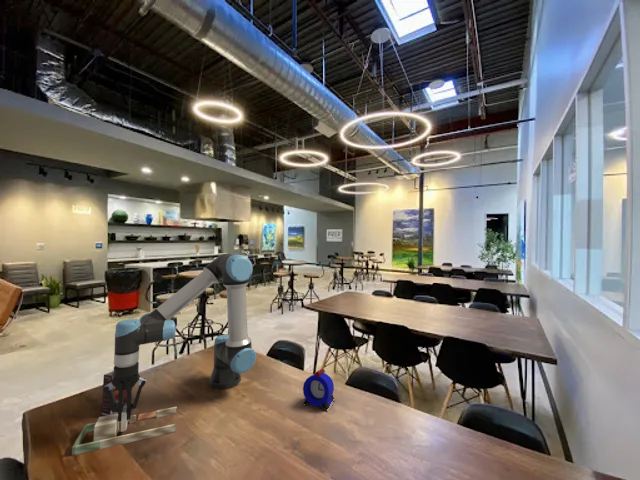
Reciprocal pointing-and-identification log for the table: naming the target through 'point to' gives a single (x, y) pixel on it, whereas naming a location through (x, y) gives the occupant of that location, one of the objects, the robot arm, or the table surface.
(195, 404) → the table surface
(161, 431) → the channel
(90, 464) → the table surface
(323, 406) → the alarm clock
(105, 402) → the supplement box
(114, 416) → the cream white block
